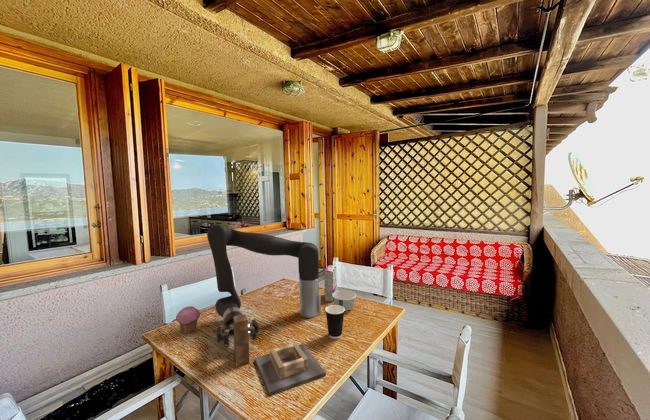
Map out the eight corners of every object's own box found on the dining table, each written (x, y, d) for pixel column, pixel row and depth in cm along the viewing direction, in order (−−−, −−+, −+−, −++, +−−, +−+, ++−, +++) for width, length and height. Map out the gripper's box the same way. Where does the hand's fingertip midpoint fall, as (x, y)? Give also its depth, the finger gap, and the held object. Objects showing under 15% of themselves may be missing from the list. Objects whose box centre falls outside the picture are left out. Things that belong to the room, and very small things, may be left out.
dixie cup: (325, 330, 112) (325, 304, 111) (344, 330, 111) (344, 304, 111) (325, 341, 104) (324, 313, 103) (345, 341, 104) (345, 313, 103)
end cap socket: (303, 346, 100) (303, 334, 100) (325, 375, 84) (325, 361, 84) (255, 360, 92) (254, 347, 92) (269, 395, 76) (269, 380, 76)
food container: (355, 313, 127) (355, 300, 127) (330, 311, 129) (330, 298, 129) (357, 303, 139) (357, 291, 138) (334, 301, 141) (333, 289, 140)
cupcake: (193, 323, 118) (192, 301, 118) (204, 329, 113) (203, 306, 113) (172, 332, 111) (171, 309, 110) (183, 339, 106) (182, 314, 105)
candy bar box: (328, 293, 152) (328, 265, 151) (337, 294, 151) (336, 265, 150) (324, 301, 141) (323, 270, 140) (333, 302, 140) (333, 271, 139)
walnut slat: (246, 355, 95) (245, 314, 94) (249, 363, 91) (248, 319, 90) (234, 358, 93) (233, 316, 92) (237, 366, 89) (235, 322, 88)
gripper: (214, 314, 102) (218, 334, 88) (252, 307, 109) (261, 324, 94) (214, 333, 103) (219, 356, 88) (252, 325, 109) (262, 345, 95)
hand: (241, 340), depth 91 cm, fingers open, 8 cm apart
